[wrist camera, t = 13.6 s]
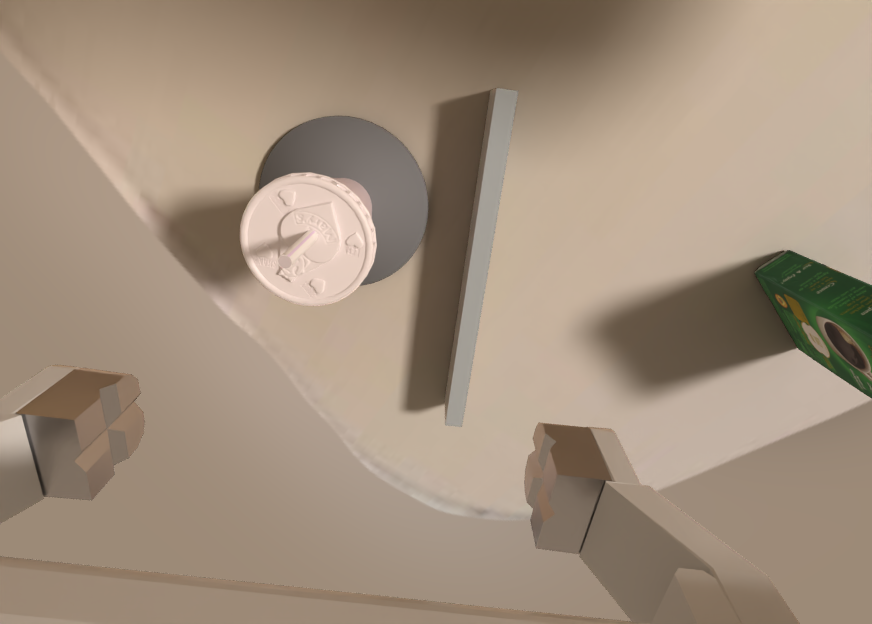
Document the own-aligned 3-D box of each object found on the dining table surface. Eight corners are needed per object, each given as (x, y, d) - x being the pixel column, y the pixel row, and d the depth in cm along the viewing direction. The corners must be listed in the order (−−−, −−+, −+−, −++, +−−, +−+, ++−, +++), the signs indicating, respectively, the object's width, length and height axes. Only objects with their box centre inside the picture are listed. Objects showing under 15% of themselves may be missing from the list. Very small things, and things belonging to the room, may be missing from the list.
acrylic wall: (490, 90, 30) (496, 88, 26) (509, 92, 30) (518, 90, 26) (444, 398, 38) (445, 425, 35) (460, 399, 38) (461, 427, 35)
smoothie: (411, 194, 32) (392, 253, 19) (359, 272, 34) (309, 374, 21) (325, 134, 30) (240, 152, 17) (276, 218, 32) (167, 292, 19)
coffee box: (835, 330, 36) (1038, 445, 24) (797, 352, 36) (975, 474, 24) (789, 246, 33) (989, 325, 21) (750, 271, 34) (921, 362, 22)
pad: (259, 104, 30) (257, 105, 30) (437, 127, 31) (437, 128, 30) (262, 274, 34) (260, 276, 34) (419, 292, 35) (418, 294, 34)
